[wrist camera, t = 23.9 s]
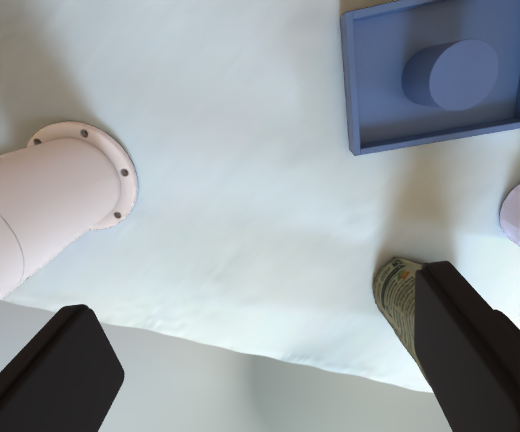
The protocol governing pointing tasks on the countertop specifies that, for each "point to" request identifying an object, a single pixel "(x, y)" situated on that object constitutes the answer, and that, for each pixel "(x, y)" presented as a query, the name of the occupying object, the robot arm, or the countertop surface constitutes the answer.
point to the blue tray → (400, 52)
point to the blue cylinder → (451, 74)
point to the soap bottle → (511, 215)
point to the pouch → (398, 300)
